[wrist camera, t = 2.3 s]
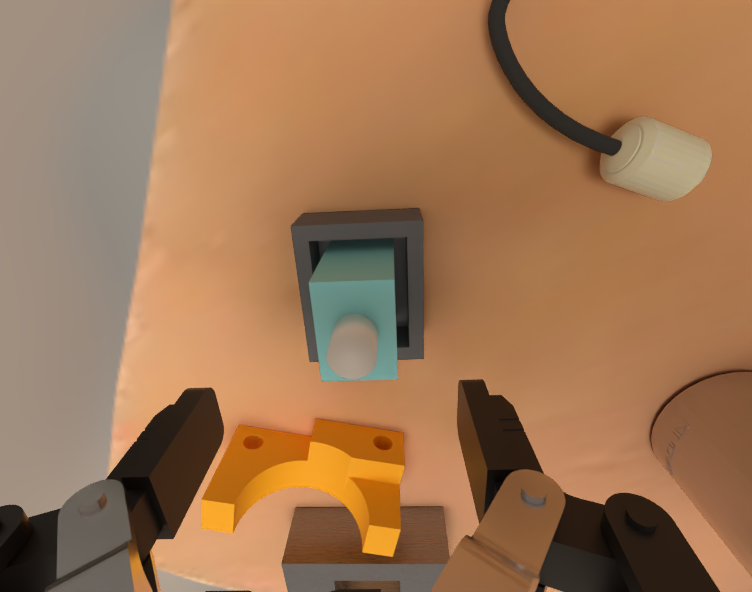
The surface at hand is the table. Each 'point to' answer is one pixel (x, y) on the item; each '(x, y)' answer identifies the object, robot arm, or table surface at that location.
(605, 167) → the cable
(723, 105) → the table surface
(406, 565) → the switch housing
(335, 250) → the plug
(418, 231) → the grey rectangular frame
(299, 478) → the pipe clamp
